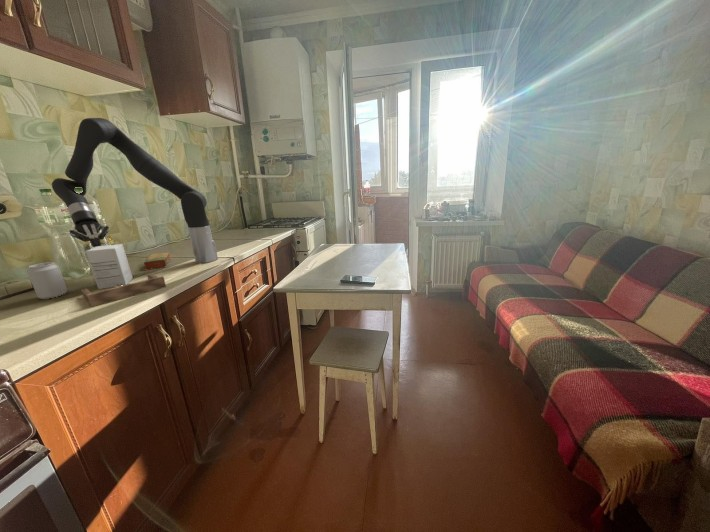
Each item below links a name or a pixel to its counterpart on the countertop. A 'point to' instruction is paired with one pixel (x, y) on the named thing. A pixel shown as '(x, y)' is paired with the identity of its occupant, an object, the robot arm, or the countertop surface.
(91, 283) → the countertop surface
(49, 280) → the can
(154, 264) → the carton
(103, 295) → the wooden tray
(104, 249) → the supplement box
